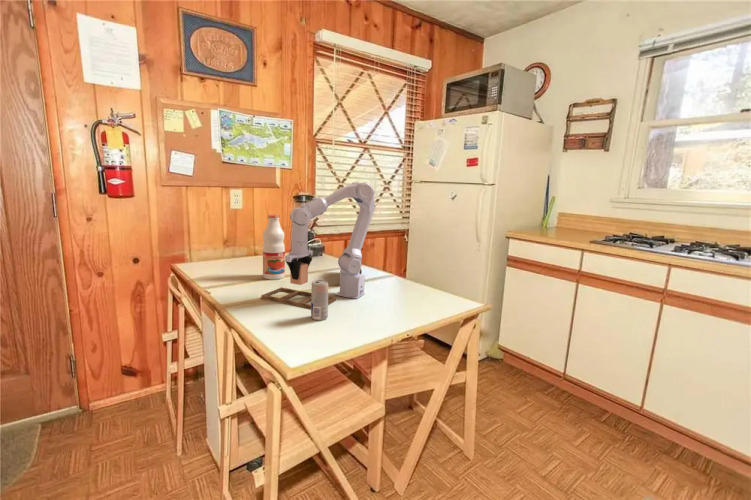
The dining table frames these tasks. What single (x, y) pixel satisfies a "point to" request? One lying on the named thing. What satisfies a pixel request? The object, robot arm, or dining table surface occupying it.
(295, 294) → the wooden divided frame
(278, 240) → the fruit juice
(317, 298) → the energy drink
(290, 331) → the dining table surface
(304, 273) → the terracotta block
